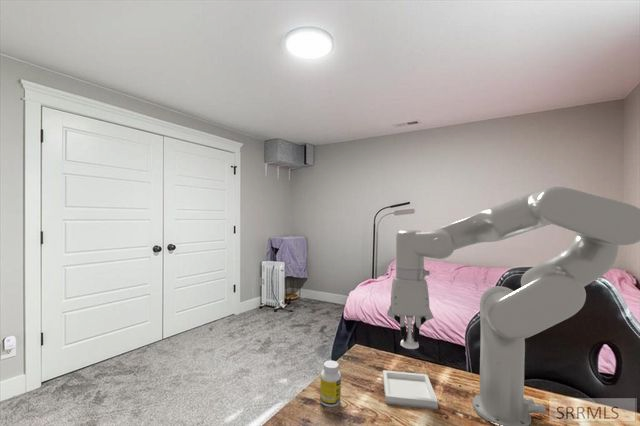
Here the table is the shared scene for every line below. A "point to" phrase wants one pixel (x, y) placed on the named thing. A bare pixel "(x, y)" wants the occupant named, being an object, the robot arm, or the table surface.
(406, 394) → the tray
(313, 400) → the table surface
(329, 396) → the supplement bottle
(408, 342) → the chess piece
